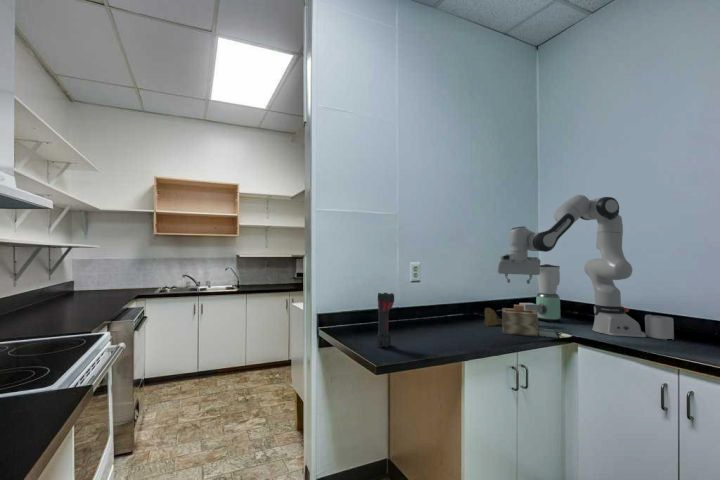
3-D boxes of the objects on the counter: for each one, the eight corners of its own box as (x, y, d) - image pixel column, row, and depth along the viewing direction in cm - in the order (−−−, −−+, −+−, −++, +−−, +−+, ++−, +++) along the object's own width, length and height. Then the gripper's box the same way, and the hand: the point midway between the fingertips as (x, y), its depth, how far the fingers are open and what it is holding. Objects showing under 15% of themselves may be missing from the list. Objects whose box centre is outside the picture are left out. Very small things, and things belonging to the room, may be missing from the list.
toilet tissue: (664, 340, 159) (663, 319, 159) (637, 334, 170) (636, 315, 171) (679, 339, 162) (678, 318, 162) (652, 333, 173) (651, 314, 174)
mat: (554, 333, 171) (554, 332, 171) (557, 337, 162) (557, 336, 162) (537, 331, 174) (537, 330, 175) (539, 336, 165) (539, 334, 165)
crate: (534, 330, 177) (534, 310, 177) (537, 336, 164) (537, 314, 164) (502, 328, 183) (502, 308, 183) (502, 333, 170) (502, 312, 171)
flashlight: (392, 343, 150) (393, 292, 151) (395, 347, 142) (395, 294, 143) (375, 343, 149) (376, 292, 150) (377, 347, 141) (377, 294, 143)
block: (523, 320, 175) (523, 305, 175) (524, 321, 171) (523, 306, 171) (514, 319, 177) (513, 304, 177) (514, 321, 172) (514, 305, 173)
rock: (498, 319, 197) (481, 316, 199) (503, 309, 192) (485, 306, 194) (501, 333, 189) (483, 330, 190) (506, 323, 184) (487, 320, 185)
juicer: (550, 323, 195) (549, 264, 197) (529, 319, 207) (528, 264, 209) (569, 321, 204) (568, 264, 206) (548, 317, 216) (547, 264, 218)
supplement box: (538, 327, 187) (538, 304, 187) (525, 326, 187) (524, 304, 187) (531, 324, 194) (531, 302, 195) (519, 324, 194) (518, 302, 195)
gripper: (539, 257, 174) (540, 283, 174) (497, 256, 182) (497, 281, 182) (541, 257, 168) (541, 284, 168) (497, 256, 176) (497, 282, 176)
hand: (518, 283), depth 175 cm, fingers open, 8 cm apart
